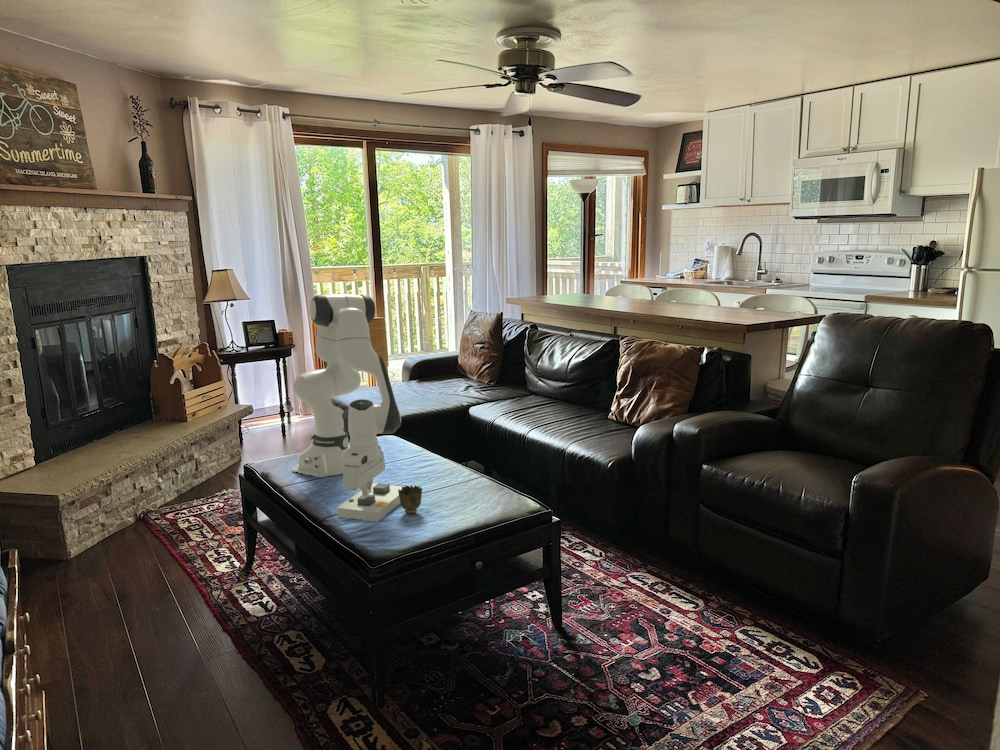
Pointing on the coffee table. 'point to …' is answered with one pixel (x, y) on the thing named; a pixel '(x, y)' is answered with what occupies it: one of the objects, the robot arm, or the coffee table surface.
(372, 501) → the block
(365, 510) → the panel
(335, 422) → the robot arm
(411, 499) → the brown textured goblet
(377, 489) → the block
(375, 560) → the coffee table surface
